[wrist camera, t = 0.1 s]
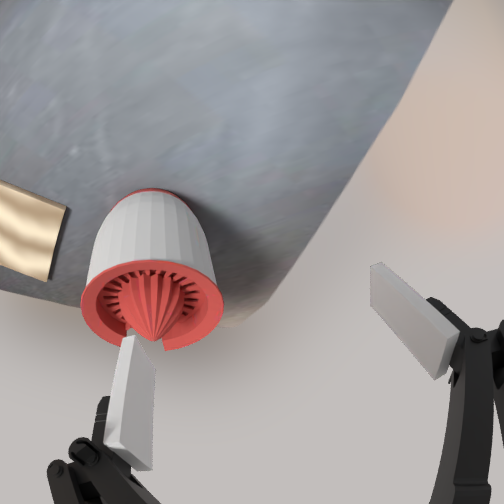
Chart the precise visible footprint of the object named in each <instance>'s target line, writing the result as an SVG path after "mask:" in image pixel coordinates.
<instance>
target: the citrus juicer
mask: <svg viewBox="0 0 504 504" xmlns="http://www.w3.org/2000/svg"><path fill="white" fill-rule="evenodd" d="M223 308H224V301H223V297H222V294H221V292H220V290H219V288H218V287H217V283H216V279H215V275H214V270H213V266H212V261H211V257H210V252H209V248H208V243H207V240H206V237H205V234H204V232H203V230H202V228H201V226H200V224H199V222H198V220H197V218H196V216H195V215H194V214H193V212H192V210H191V209H190V208H189V206H188V205H187V204H186V203H185V202H184V201H183V200H181V199H180V198H179V197H178V196H176V195H175V194H173V193H171V192H169V191H166V190H162V189H156V188H147V189H141V190H137V191H135V192H132V193H130V194H128V195H127V196H125V197H124V198H123V199H121V200H120V201H119V202H118V203H117V204H116V205H115V206H114V207H113V208H112V209H111V211H110V213H109V214H108V215H107V217H106V218H105V220H104V222H103V224H102V226H101V228H100V230H99V232H98V234H97V237H96V240H95V243H94V248H93V252H92V257H91V262H90V267H89V272H88V278H87V283H86V288H85V290H84V292H83V294H82V297H81V310H82V315H83V317H84V319H85V321H86V323H87V325H88V326H89V327H90V328H91V329H92V331H93V332H94V333H96V334H97V335H98V336H99V337H101V338H102V339H104V340H106V341H107V342H109V343H111V344H114V345H117V346H119V347H121V344H122V339H123V338H124V337H126V335H127V334H126V333H127V330H128V329H129V328H133V329H134V330H135V331H137V332H138V333H139V334H140V335H141V336H143V337H144V338H146V339H148V340H150V341H156V340H158V339H160V338H162V341H163V345H164V349H165V351H167V350H173V349H179V348H182V347H185V346H188V345H190V344H193V343H195V342H197V341H199V340H200V339H202V338H204V337H205V336H206V335H208V334H209V333H210V332H211V331H212V330H213V329H214V328H215V327H216V326H217V324H218V323H219V321H220V319H221V316H222V314H223Z"/></svg>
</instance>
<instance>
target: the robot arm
mask: <svg viewBox="0 0 504 504" xmlns="http://www.w3.org/2000/svg"><path fill="white" fill-rule="evenodd" d="M370 274H371V275H370V276H371V277H370V278H371V279H370V280H371V281H370V283H371V293H370V295H371V297H370V305H371V307H372V308H373V309H374V310H375V311H376V312H377V313H378V315H379V316H380V317H381V318H382V319H383V320H384V321H385V322H386V324H387V325H388V326H389V327H390V328H391V329H392V330H393V332H394V333H395V334H396V335H397V336H398V338H399V339H400V340H401V341H402V342H403V343H404V345H405V346H406V347H407V348H408V349H409V350H410V352H411V353H412V354H413V355H414V356H415V358H416V359H417V360H418V361H419V362H420V364H421V365H422V366H423V367H424V368H425V370H426V371H427V372H428V373H429V375H430V376H431V377H432V378H433V380H436V379H438V378H439V377H441V376H442V375H444V374H446V372H447V370H448V367H449V365H450V366H451V367H452V368H453V371H452V374H451V376H450V379H449V382H448V383H449V384H450V382H451V392H450V403H449V412H448V420H447V427H446V433H445V439H444V445H443V450H442V456H441V461H440V465H439V469H438V474H437V478H436V482H435V486H434V489H433V493H432V496H431V500H430V502H429V504H489V502H490V497H491V486H490V485H489V484H488V481H487V480H488V473H489V466H490V457H491V448H492V435H493V414H494V401H495V405H496V410H497V414H498V419H499V423H500V429H501V434H502V440H503V446H504V320H502V321H501V323H500V325H499V328H498V329H495V330H492V331H488V332H486V331H485V330H483V329H480V328H470V327H469V326H468V325H467V324H466V323H465V322H463V321H462V320H461V319H460V318H459V317H458V316H457V315H456V314H454V313H453V312H452V311H451V310H450V309H449V308H447V307H446V305H444V304H443V303H442V302H441V301H440V300H437V299H435V298H432V297H430V298H428V299H426V300H425V299H424V298H423V297H422V296H421V295H420V294H419V293H417V292H416V291H415V290H414V289H413V288H412V287H411V286H409V285H408V284H407V283H406V282H405V281H404V280H402V279H401V278H400V277H399V276H398V275H396V274H395V273H394V272H393V271H392V270H391V269H389V268H388V267H387V266H385V264H383V263H382V262H380V263H378V264H375V265H372V266H370ZM155 372H156V369H155V368H154V366H153V364H152V363H151V361H150V359H149V358H148V356H147V354H146V353H145V351H144V349H143V348H142V346H141V344H140V343H139V341H138V339H137V337H136V336H135V335H133V336H129V337H124V338H123V339H122V344H121V348H120V352H119V357H118V361H117V366H116V371H115V375H114V381H113V386H112V391H111V396H105V397H102V399H101V401H100V403H99V404H98V408H97V412H96V415H97V416H96V418H95V423H94V429H93V434H92V441H90V440H89V439H88V438H84V437H82V438H78V439H76V440H75V441H73V442H72V444H71V445H70V447H69V453H68V454H69V457H70V459H72V460H73V461H74V462H72V463H69V464H67V463H65V462H64V461H63V460H59V459H58V460H54V461H53V462H51V463H50V465H49V466H48V469H47V477H48V481H49V485H50V489H51V493H52V497H53V500H54V504H161V503H160V502H159V501H158V500H157V499H156V498H155V497H153V495H152V494H151V493H150V492H149V491H147V489H146V488H145V487H144V486H143V485H142V484H141V483H140V482H139V481H138V480H137V479H136V477H135V476H133V475H132V474H131V467H132V468H134V469H135V470H136V471H150V470H152V437H153V434H152V432H153V407H154V388H155V387H154V386H155Z"/></svg>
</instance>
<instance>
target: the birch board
mask: <svg viewBox="0 0 504 504" xmlns="http://www.w3.org/2000/svg"><path fill="white" fill-rule="evenodd" d="M66 207H67V206H64V205H62V204H59V203H57V202H54V201H52V200H49V199H46V198H44V197H41V196H39V195H36V194H34V193H31V192H29V191H26V190H24V189H21V188H19V187H16V186H14V185H12V184H9V183H7V182H4V181H2V180H0V265H2V266H5V267H7V268H10V269H13V270H15V271H18V272H20V273H23V274H26V275H28V276H31V277H34V278H37V279H39V280H42V281H45V282H47V279H48V274H49V270H50V265H51V261H52V257H53V253H54V248H55V245H56V241H57V237H58V233H59V230H60V226H61V223H62V220H63V216H64V213H65V210H66Z"/></svg>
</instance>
